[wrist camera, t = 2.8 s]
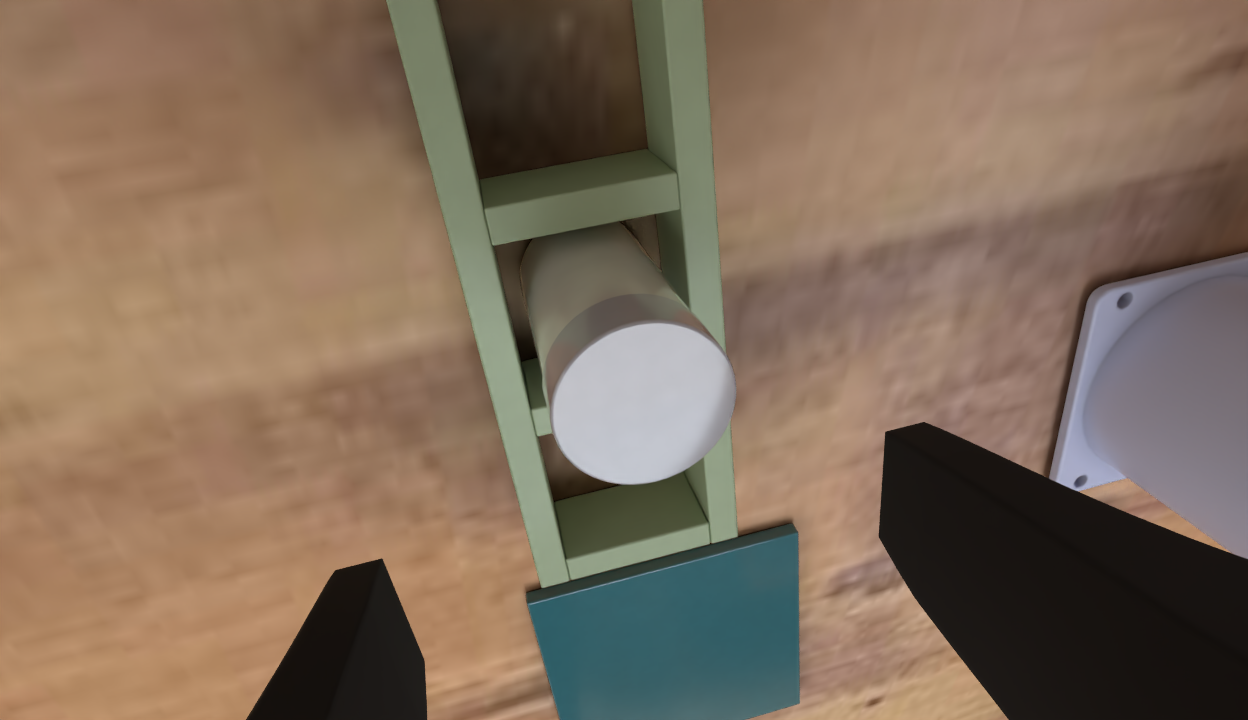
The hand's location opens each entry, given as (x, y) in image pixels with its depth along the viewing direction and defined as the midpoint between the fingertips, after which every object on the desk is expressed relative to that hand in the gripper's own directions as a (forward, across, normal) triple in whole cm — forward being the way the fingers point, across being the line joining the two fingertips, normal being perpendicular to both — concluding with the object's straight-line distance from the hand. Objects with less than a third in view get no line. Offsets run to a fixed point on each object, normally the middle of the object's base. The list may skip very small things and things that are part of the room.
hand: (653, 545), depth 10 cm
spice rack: (+9, -1, 0) cm, 9 cm away
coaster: (+9, -2, +14) cm, 17 cm away
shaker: (+9, -1, 0) cm, 9 cm away
